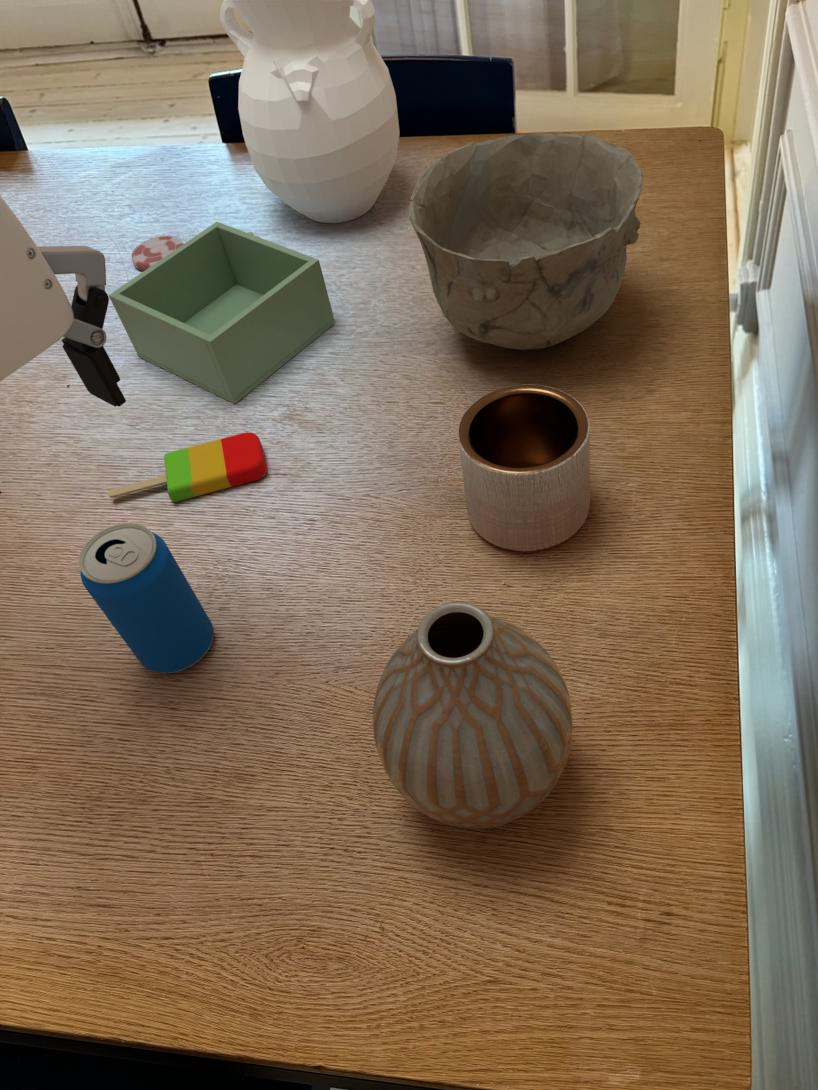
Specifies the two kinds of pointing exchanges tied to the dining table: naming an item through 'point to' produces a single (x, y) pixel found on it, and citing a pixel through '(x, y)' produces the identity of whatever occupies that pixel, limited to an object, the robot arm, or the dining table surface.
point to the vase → (472, 719)
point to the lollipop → (155, 251)
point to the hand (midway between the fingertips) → (48, 442)
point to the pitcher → (315, 103)
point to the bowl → (527, 234)
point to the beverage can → (146, 597)
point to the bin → (225, 310)
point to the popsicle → (206, 468)
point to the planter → (526, 466)
